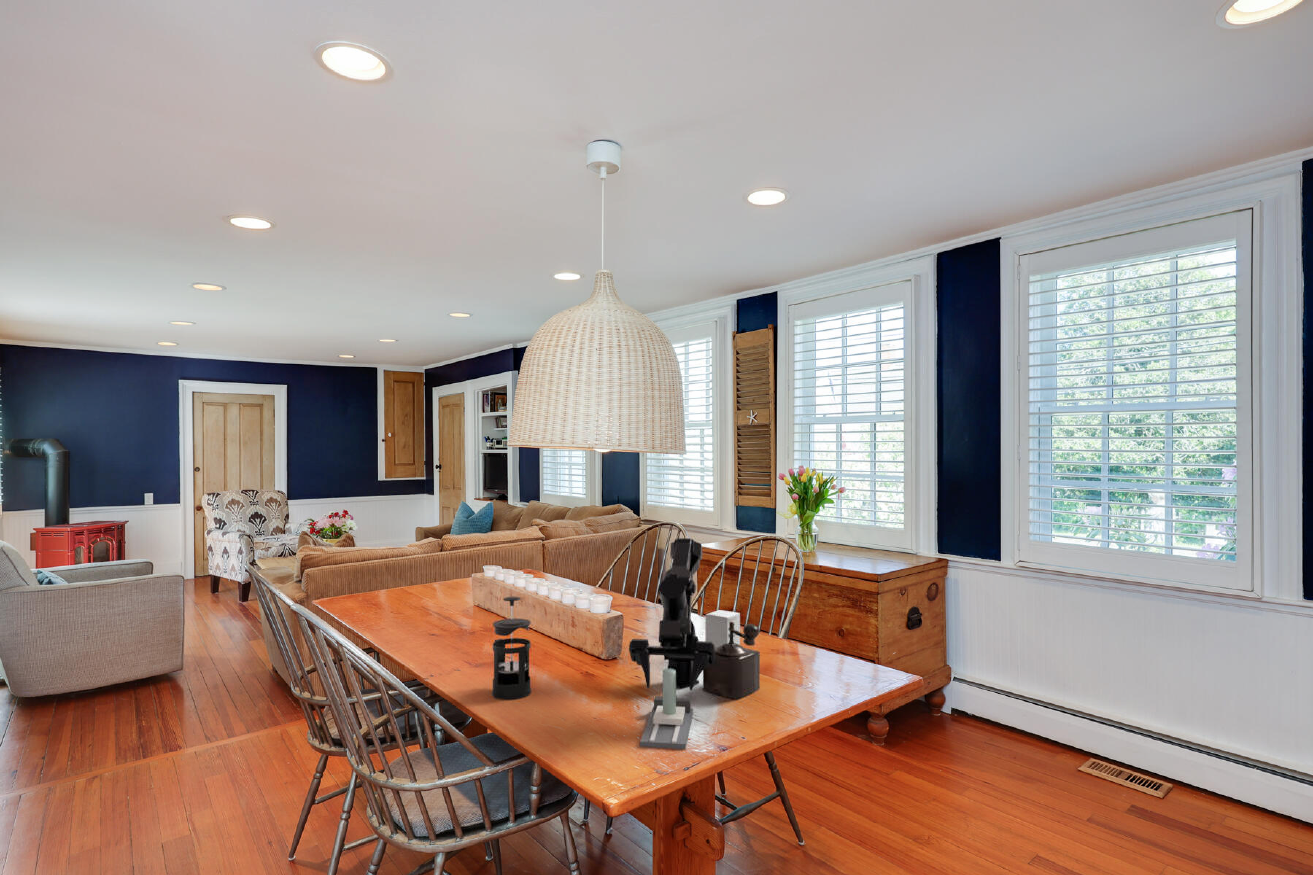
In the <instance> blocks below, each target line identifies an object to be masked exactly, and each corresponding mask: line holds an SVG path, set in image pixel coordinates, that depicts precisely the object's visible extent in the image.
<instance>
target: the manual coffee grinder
mask: <svg viewBox="0 0 1313 875" xmlns="http://www.w3.org/2000/svg"><path fill="white" fill-rule="evenodd" d="M729 626H730V627H729V631H730V641H729V643H726V644H723V645H721V646H719V647H716V648H715V664H713V665H709V667H708V668H704V669H703V671H702V685H703V686H702V692H703V691H704V692H707V693H710V694H713V695H715V696H719V697H724V698H730V699H735V700H739V699H742V698H745V697H748V696H750V695H751V694H750V693H752V694H754V693H756V692H758V691H759V690H760V687H761V686H760V672H761V671H760V669H761V668H760V667H761V666H760V662H761V661H760V660H761V659H760V658H761V656H760V655H761V652H760V651H758V650H754V649H750V648H746V647H743V645H741V644H740V645H738V644H736V643H734V641H733V634H736V635H738V636H740V638H742V639H743V643H744V644H745V645H747V646H748V647H749V646H750V647H751V646H755V645H756V641H755V639H756V638H757V637H758V636H759V635H760V628H759V627H758V626H757V625H755V624H753V623H748V624H746V625H744V626H743V629H742V631H743V632H741V631H740V632H738V631H736V630H735V629H734V622H730V623H729ZM758 689H759V690H758ZM755 691H756V692H755ZM753 692H754V693H753ZM749 694H750V695H749ZM747 695H748V696H747Z"/></svg>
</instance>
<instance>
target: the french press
mask: <svg viewBox="0 0 1313 875" xmlns="http://www.w3.org/2000/svg"><path fill="white" fill-rule="evenodd" d="M502 600H503V601H506V602H509V606H510V618H505V619H504V618H503V619H499V620H497V621H496V620H495V621H494V622H493V623H492V626H493V627H494V634H495V635H497V636H503V637H507V636H510V638H504V639H503V638H497V639H494V641H493V642H492V651H493V678H492V691H491V696H492V697H493V699H494V698H495V699H498V700H506V701H507V700H508V701H510V700H511V701H512V700H519V699H523V698H526V697H527V696H529V695H530V694H531V693H532V687H531V683H532V682H531V680H532V679H531V676H530V649H531V647H532V646H531V644H532V642H531V641H530V640H529V639H527V638H521V637H513V636H514V635H513V634H514V632H515V631H517V630H518V629H525V630H526V631H528V632H529V631H530V628H529V627H530V625H531V620H529V619H526V618H515V617H514V618H513V616H514V614H513V612H514V611H513V606H515V602H516V601H520V600H521V597H519V596H508V597H507V596H506V597H504V598H503V599H502ZM515 644H516V645H517V644H518V645H520V644H521V645H523V646H518V647H513V645H515ZM506 645H510V647H506ZM509 654H510V660H509V661H506V655H509ZM514 654H518V660H514V659H513V658H514V657H513V655H514Z"/></svg>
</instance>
